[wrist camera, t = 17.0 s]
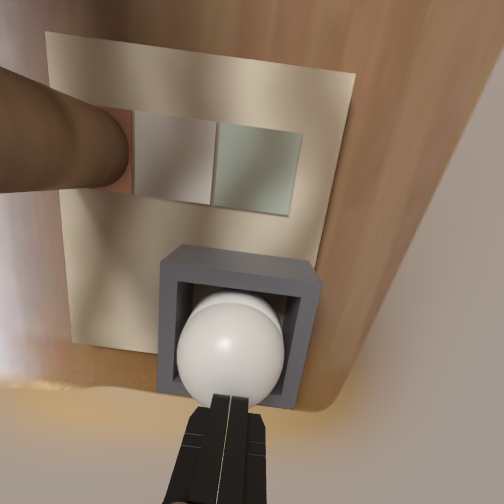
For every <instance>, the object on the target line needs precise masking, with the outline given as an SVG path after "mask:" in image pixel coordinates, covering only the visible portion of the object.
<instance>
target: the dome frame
mask: <svg viewBox="0 0 504 504" xmlns="http://www.w3.org/2000/svg"><path fill="white" fill-rule="evenodd" d="M194 283H197V284H204V285H212V286H220V287H227V288H235V289H242V290H250V291H257V292H265V293H272V294H280V295H288V298H287V303H286V308H285V314H284V319H283V324H282V335H283V342H284V362H283V368H282V371H281V374H280V377H279V379H278V381H277V383H276V385H275V386H274V388H273V389H272V391H271V392H270V393H269V394H268V395H267V396H266V397H265V398H264V399H263V400H262V401H261V402H259V403H258V404H256V405H260V406H268V407H275V408H283V409H291V410H294V407H295V403H296V399H297V394H298V390H299V385H300V381H301V377H302V372H303V368H304V363H305V359H306V355H307V350H308V346H309V341H310V337H311V333H312V328H313V324H314V320H315V315H316V311H317V306H318V302H319V298H320V293H321V289H322V284H323V283H322V281H321V280H320V278H319V276H318V275H317V273H316V272H315V270H314V268H313V267H312V265H311V264H310V262H309V261H307V260H299V259H292V258H284V257H277V256H269V255H262V254H254V253H247V252H239V251H232V250H224V249H217V248H209V247H202V246H194V245H187V244H182V245H180V246H179V247H178V248H177V249H175V250H174V251H173V252H172V253H170V254H169V255H168V256H167V257H165V258H164V259H163V260H162V261H160V284H159V323H158V362H157V392H160V393H167V394H175V395H183V396H190V397H192V396H191V395H190V394H189V392H188V391H187V390H186V388H185V386H184V384H183V382H182V380H181V378H180V375H179V371H178V366H177V347H178V342H179V338H180V335H181V333H182V330H183V328H184V326H185V324H186V322H187V320H188V318H189V317H190V315H191V313H192V304H193V289H194Z"/></svg>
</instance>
